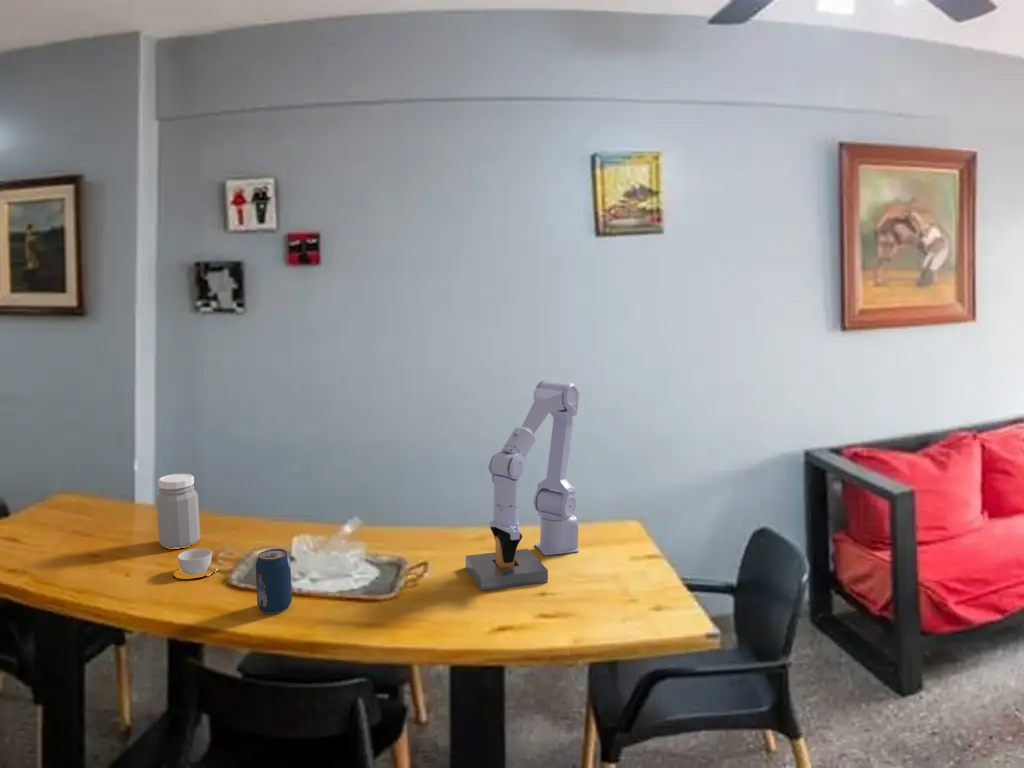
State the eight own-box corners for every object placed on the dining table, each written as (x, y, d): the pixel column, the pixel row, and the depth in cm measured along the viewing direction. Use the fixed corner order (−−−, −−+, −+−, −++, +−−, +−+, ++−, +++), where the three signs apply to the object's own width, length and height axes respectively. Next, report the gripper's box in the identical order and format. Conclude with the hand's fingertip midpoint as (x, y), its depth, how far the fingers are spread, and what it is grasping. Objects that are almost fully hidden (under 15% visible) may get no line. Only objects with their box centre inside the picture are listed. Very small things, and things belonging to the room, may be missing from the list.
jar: (159, 540, 188) (155, 474, 185) (200, 535, 192) (196, 471, 189) (158, 553, 179) (154, 484, 177) (200, 547, 183) (197, 480, 181)
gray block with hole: (527, 560, 176) (527, 548, 176) (547, 582, 163) (547, 570, 163) (465, 567, 172) (465, 555, 171) (481, 591, 158) (481, 578, 158)
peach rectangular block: (509, 562, 169) (509, 534, 168) (514, 568, 166) (514, 539, 165) (495, 564, 168) (495, 535, 167) (499, 569, 165) (500, 541, 164)
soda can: (295, 600, 153) (293, 547, 151) (286, 615, 146) (284, 560, 145) (263, 600, 153) (261, 547, 151) (253, 615, 146) (250, 560, 144)
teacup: (201, 583, 162) (200, 563, 161) (163, 579, 164) (162, 560, 163) (227, 566, 172) (226, 548, 171) (191, 563, 174) (190, 544, 173)
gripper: (481, 495, 171) (481, 549, 172) (498, 514, 157) (498, 572, 159) (509, 493, 173) (508, 546, 175) (528, 511, 159) (528, 569, 161)
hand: (505, 558), depth 167 cm, fingers closed on peach rectangular block, 4 cm apart
